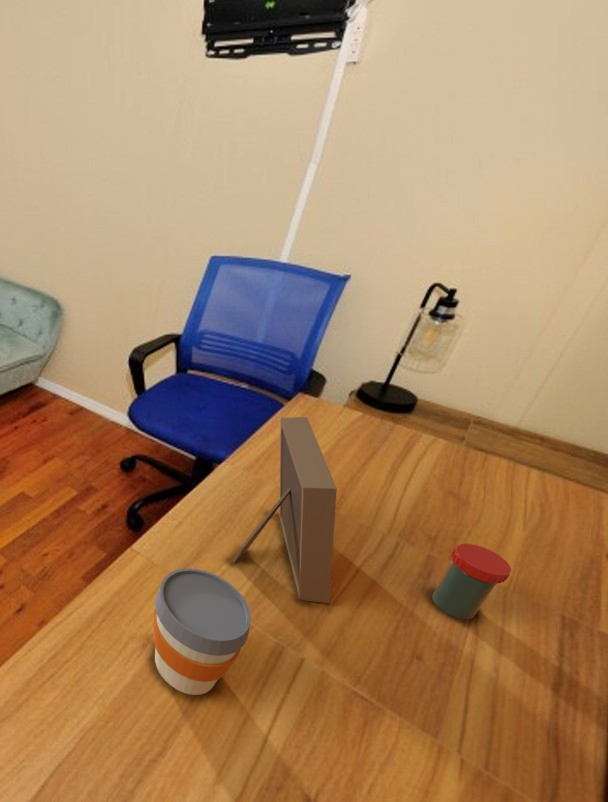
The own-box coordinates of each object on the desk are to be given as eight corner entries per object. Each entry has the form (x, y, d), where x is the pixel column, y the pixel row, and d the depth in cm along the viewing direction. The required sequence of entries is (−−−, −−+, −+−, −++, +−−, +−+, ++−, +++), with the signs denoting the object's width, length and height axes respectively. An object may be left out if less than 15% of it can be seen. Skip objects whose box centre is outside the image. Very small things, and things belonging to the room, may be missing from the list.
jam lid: (484, 587, 80) (490, 579, 79) (440, 555, 86) (445, 547, 85) (517, 579, 81) (523, 570, 80) (471, 547, 87) (476, 539, 86)
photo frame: (302, 521, 106) (341, 422, 94) (327, 606, 88) (380, 496, 76) (225, 505, 111) (253, 409, 99) (234, 583, 93) (270, 476, 81)
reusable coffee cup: (134, 628, 85) (147, 566, 78) (209, 630, 84) (229, 567, 77) (156, 706, 74) (174, 642, 67) (243, 708, 73) (270, 643, 66)
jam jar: (470, 600, 89) (498, 557, 84) (477, 625, 84) (508, 581, 79) (429, 587, 91) (455, 544, 86) (435, 610, 87) (462, 567, 82)
